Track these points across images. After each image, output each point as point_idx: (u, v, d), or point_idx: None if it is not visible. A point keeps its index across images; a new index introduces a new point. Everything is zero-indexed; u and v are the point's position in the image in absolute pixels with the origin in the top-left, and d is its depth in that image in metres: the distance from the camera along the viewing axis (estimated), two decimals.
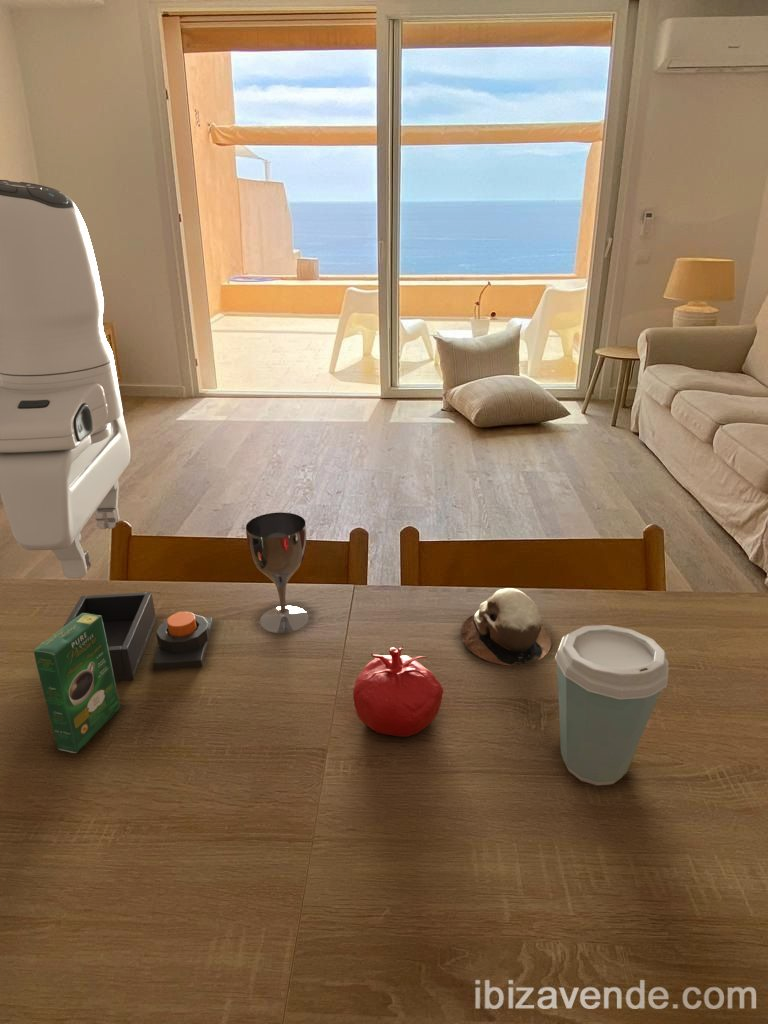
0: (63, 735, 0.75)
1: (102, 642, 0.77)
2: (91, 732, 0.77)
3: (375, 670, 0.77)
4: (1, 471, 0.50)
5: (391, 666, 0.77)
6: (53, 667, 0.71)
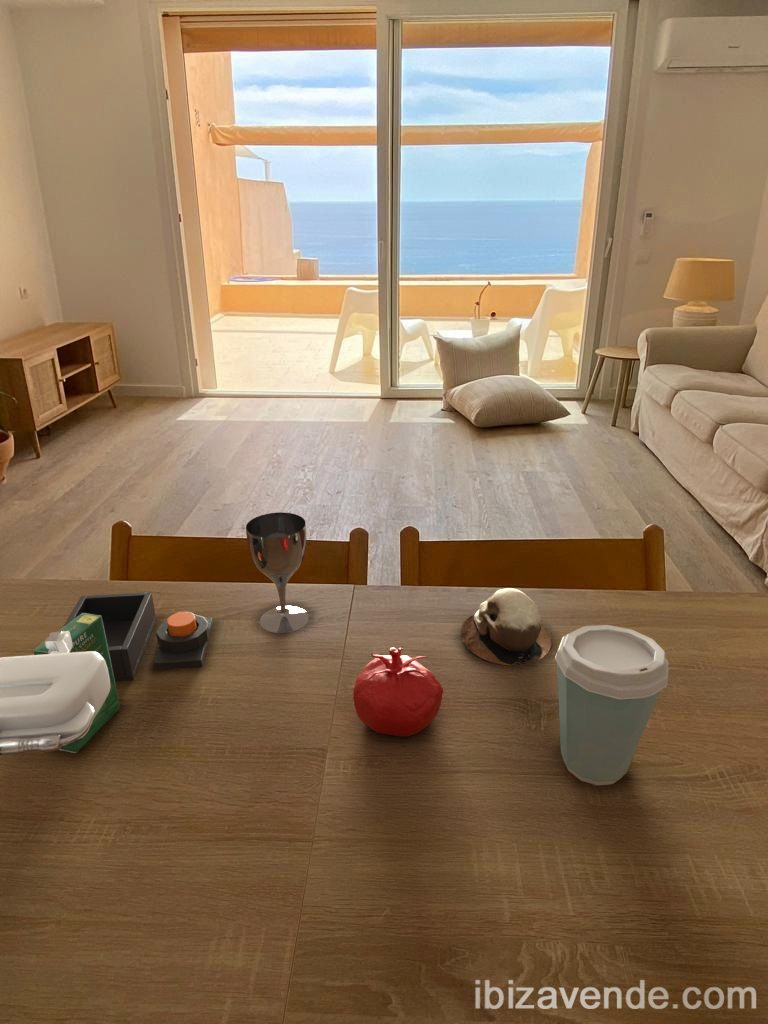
0: None
1: (102, 642, 0.77)
2: (90, 732, 0.77)
3: (375, 670, 0.77)
4: None
5: (391, 666, 0.77)
6: None
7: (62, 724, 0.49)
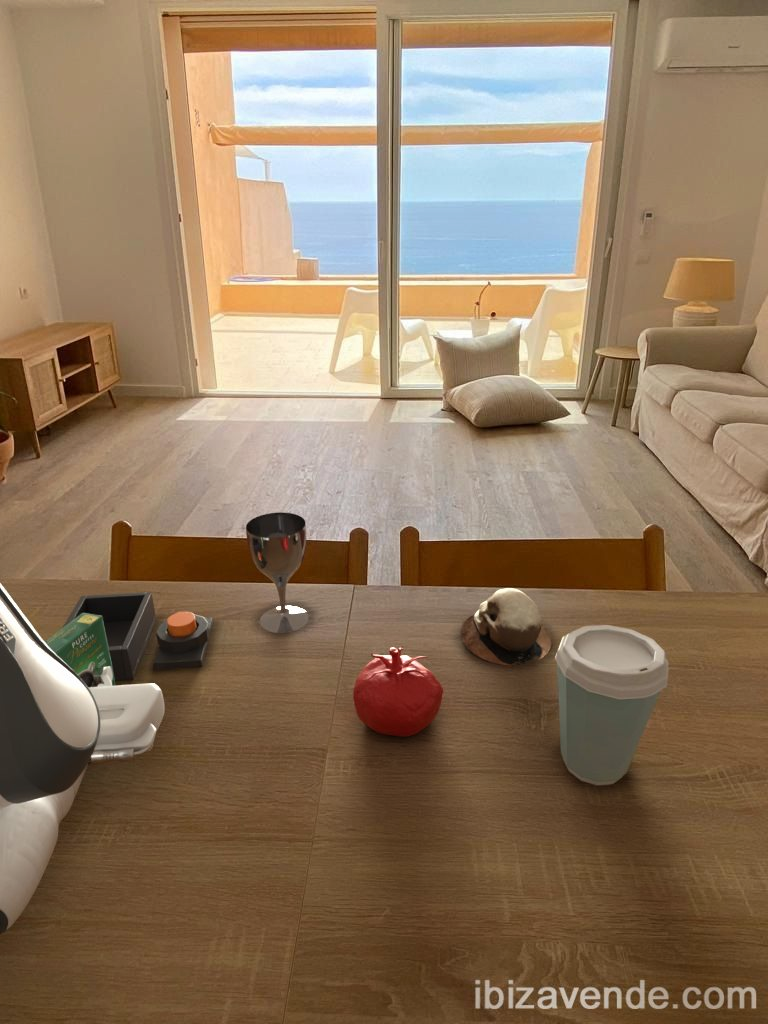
0: None
1: (102, 642, 0.77)
2: None
3: (375, 670, 0.77)
4: None
5: (391, 666, 0.77)
6: None
7: (133, 740, 0.67)
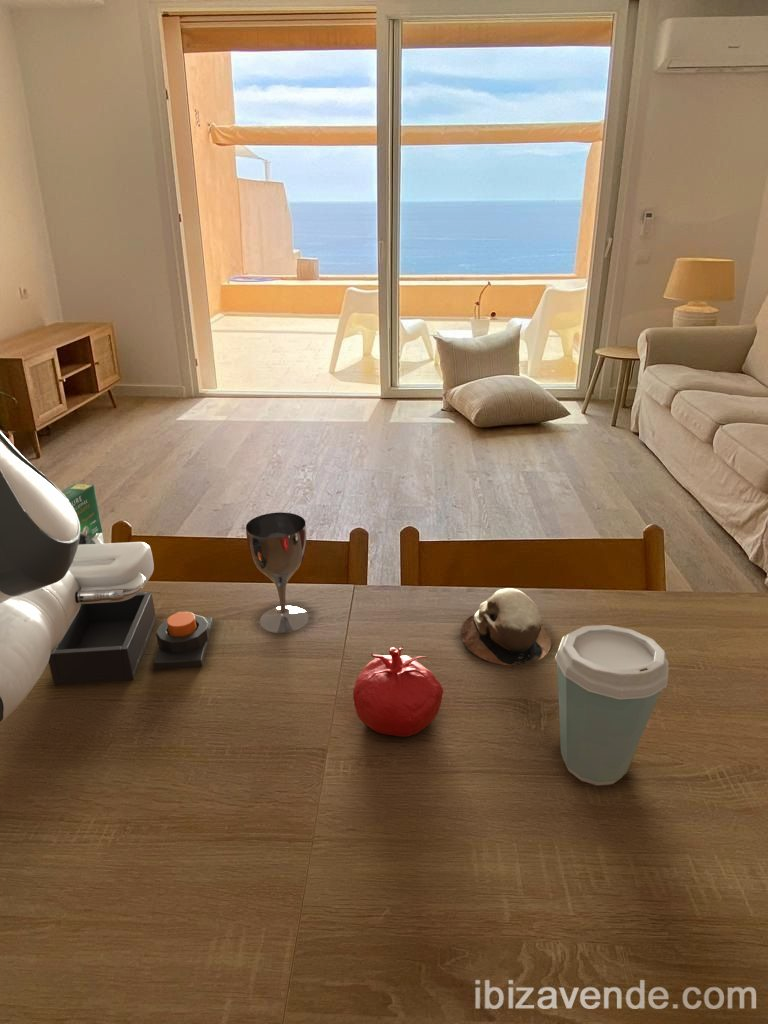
0: None
1: (95, 510, 0.82)
2: None
3: (375, 670, 0.77)
4: None
5: (391, 666, 0.77)
6: None
7: (123, 584, 0.71)
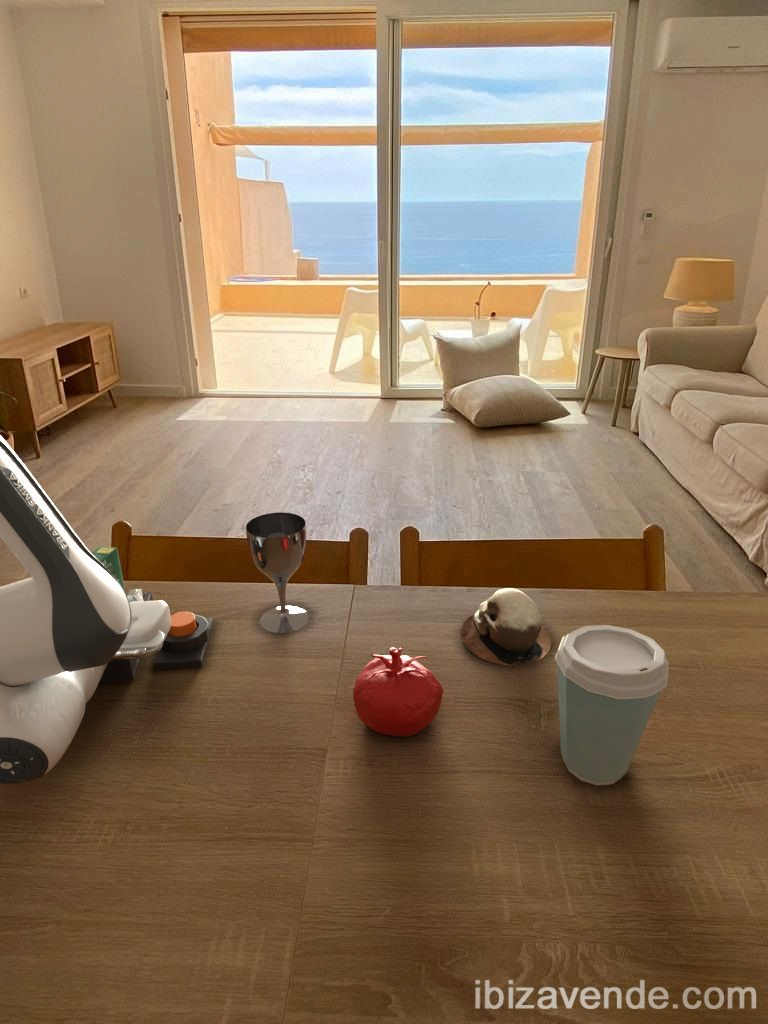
0: None
1: (118, 570, 0.91)
2: None
3: (375, 670, 0.77)
4: None
5: (391, 666, 0.77)
6: None
7: (146, 642, 0.80)
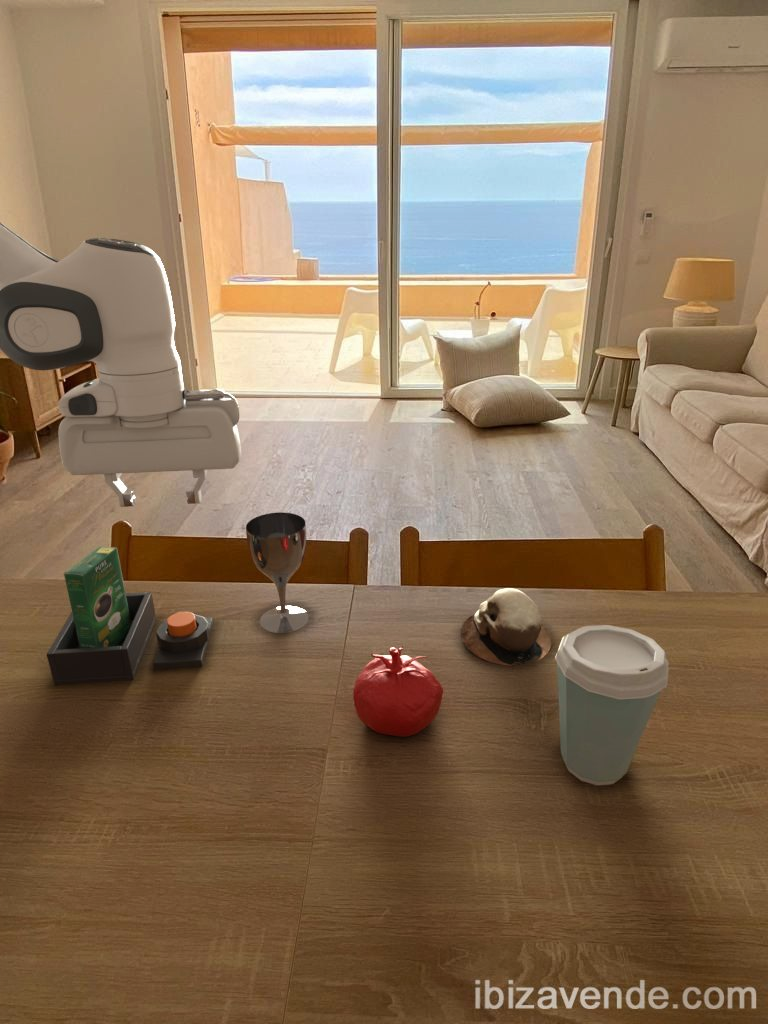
0: None
1: (118, 570, 0.91)
2: None
3: (375, 670, 0.77)
4: None
5: (391, 666, 0.77)
6: (81, 587, 0.84)
7: None
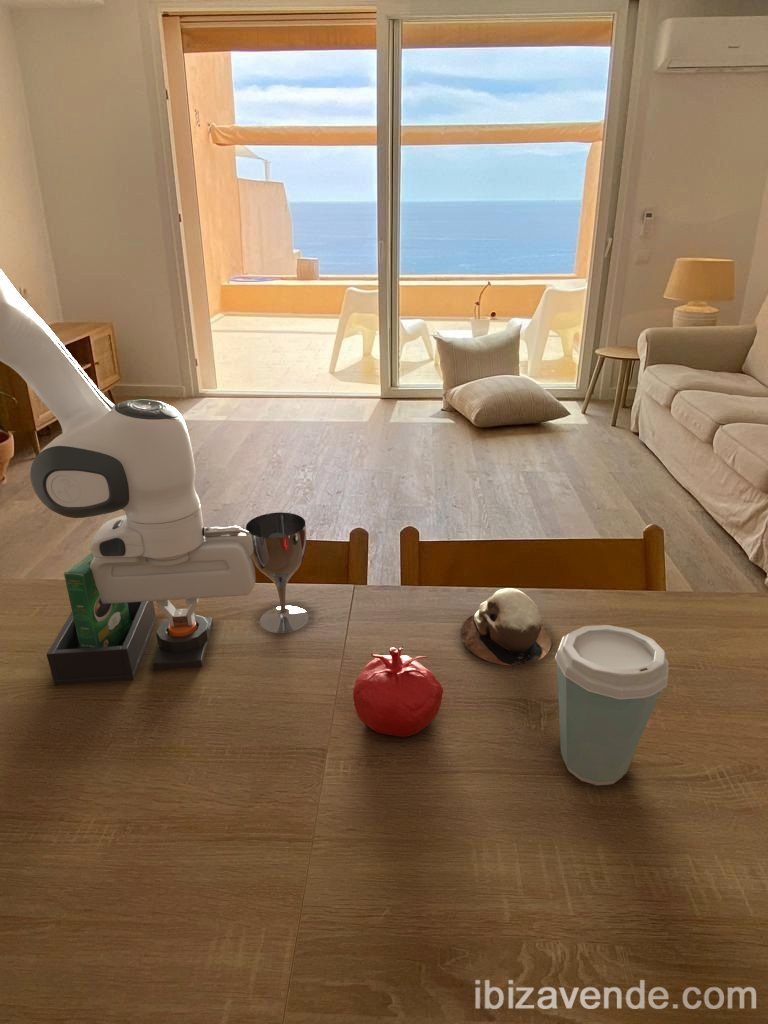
0: None
1: None
2: None
3: (375, 670, 0.77)
4: None
5: (391, 666, 0.77)
6: (81, 587, 0.84)
7: None
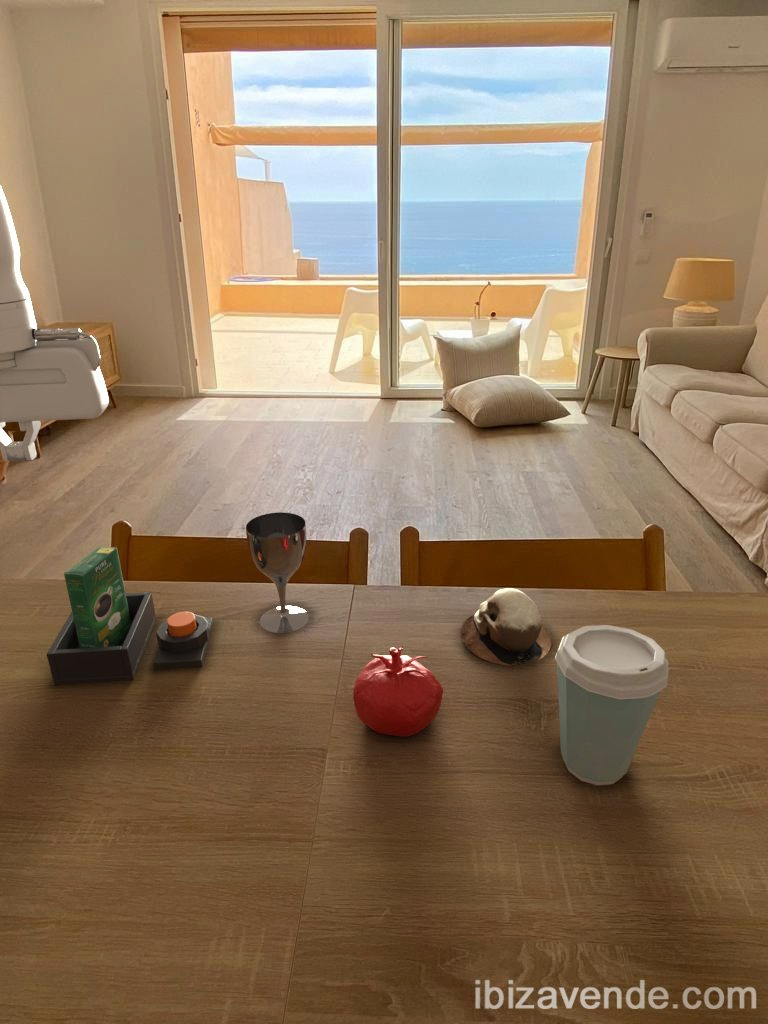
0: None
1: (118, 570, 0.91)
2: None
3: (375, 670, 0.77)
4: None
5: (391, 666, 0.77)
6: (81, 587, 0.84)
7: None
